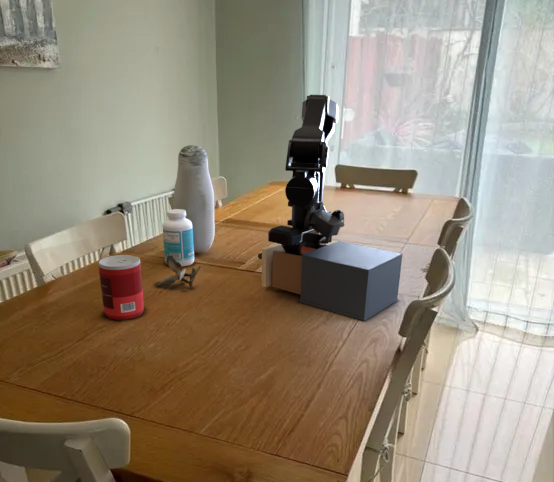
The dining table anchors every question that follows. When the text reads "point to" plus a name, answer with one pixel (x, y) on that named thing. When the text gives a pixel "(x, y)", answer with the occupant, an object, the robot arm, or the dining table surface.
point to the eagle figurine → (178, 273)
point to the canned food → (121, 286)
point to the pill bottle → (178, 237)
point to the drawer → (281, 268)
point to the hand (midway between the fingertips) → (302, 267)
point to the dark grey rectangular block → (350, 279)
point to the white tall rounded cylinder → (196, 195)
